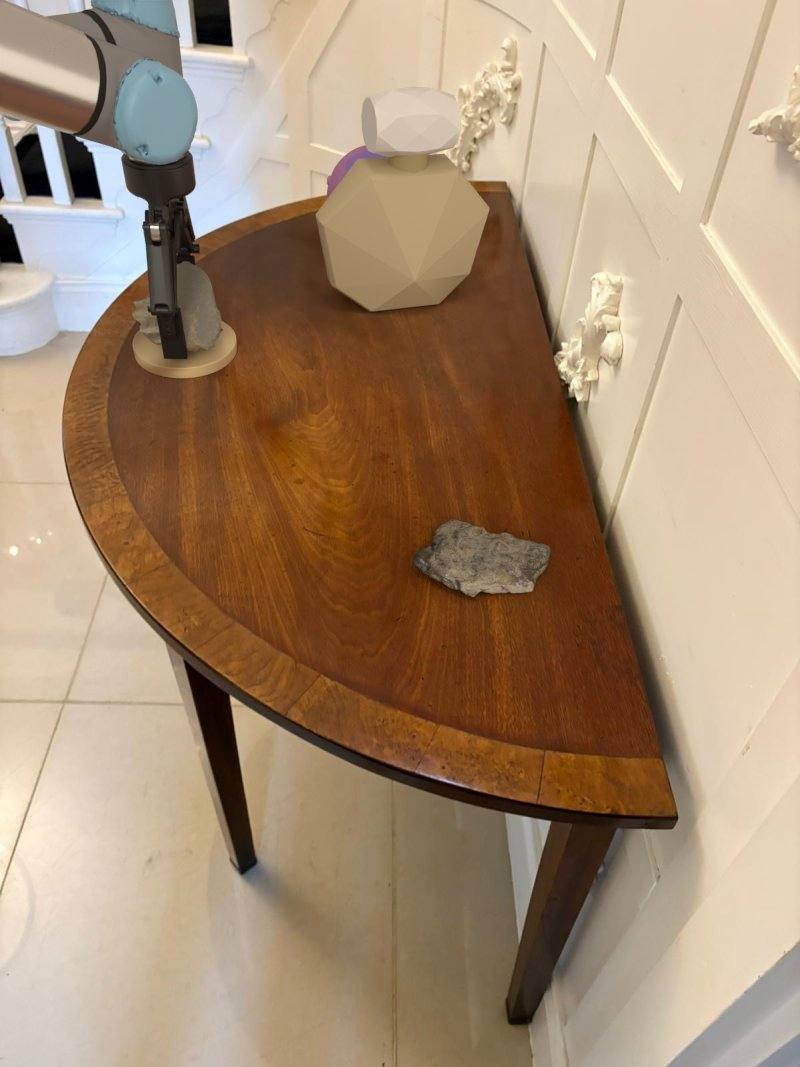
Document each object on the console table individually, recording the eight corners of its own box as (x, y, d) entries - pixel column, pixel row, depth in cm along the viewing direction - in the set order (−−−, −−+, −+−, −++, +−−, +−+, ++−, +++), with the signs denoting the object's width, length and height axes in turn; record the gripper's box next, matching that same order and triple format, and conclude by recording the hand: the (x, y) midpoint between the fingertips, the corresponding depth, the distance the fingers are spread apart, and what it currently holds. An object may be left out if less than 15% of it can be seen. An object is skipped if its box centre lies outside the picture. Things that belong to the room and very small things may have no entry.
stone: (549, 552, 80) (555, 532, 78) (539, 615, 74) (545, 596, 72) (415, 524, 82) (417, 503, 80) (395, 583, 76) (396, 563, 74)
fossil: (199, 338, 108) (124, 319, 103) (220, 264, 103) (143, 241, 98) (221, 380, 97) (138, 362, 92) (245, 300, 93) (159, 275, 87)
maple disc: (125, 377, 97) (123, 367, 96) (143, 322, 106) (141, 312, 105) (232, 379, 98) (231, 369, 97) (241, 325, 107) (240, 315, 106)
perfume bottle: (489, 310, 114) (523, 99, 94) (329, 328, 108) (328, 106, 88) (459, 271, 122) (484, 68, 102) (308, 286, 116) (303, 74, 96)
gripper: (176, 200, 76) (201, 385, 91) (204, 115, 94) (222, 283, 109) (96, 197, 76) (135, 384, 91) (140, 112, 93) (167, 281, 108)
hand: (183, 329), depth 100 cm, fingers closed on fossil, 12 cm apart
